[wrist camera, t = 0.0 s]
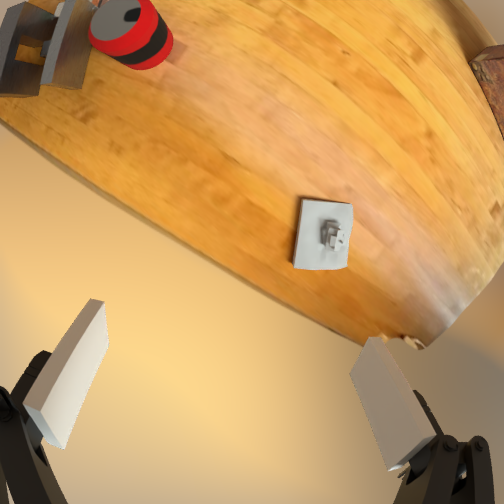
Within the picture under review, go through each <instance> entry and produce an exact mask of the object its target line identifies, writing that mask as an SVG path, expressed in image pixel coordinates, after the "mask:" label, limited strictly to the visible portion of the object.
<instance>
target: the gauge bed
mask: <svg viewBox="0 0 504 504" xmlns="http://www.w3.org/2000/svg"><path fill="white" fill-rule="evenodd" d="M89 1H90V2H91V3H92V0H89ZM107 1H109V0H100V1H99V3H98V6H97V7H98V8H100V7H101V6H102V5H103V4H104V3H106V2H107ZM64 3H65V2H62V3H59V4H58V6H57V9H56V11H55V14H54V15H53V14H51V13H49V12H47V11H45V10H43V9H41V8H39V7H37V6H35V5H32V4H30V3H28V2H26V1H25V2H22V3H20V4H17V5H15V6H12V7H10V8H8V9H7V12H6V15H5V17H4V19H3V22H2V25H1V28H0V97H12V98H25V97H33V96H38V95H39V90H40V82H41V78H42V73H43V69H44V66H40V65H36V64H32V63H27V62H22V61H18V60H15V56H16V52H17V49H18V45H19V44H22V45H26V46H29V47H33V48H35V47H40V46H43V44H44V41H49V40H51V39H52V36H53V33H54V30H55V27H56V24H57V21H58V19H59V16H60V13H61V11H62V8H63V5H64Z"/></svg>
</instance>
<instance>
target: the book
mask: <svg viewBox="0 0 504 504" xmlns="http://www.w3.org/2000/svg"><path fill="white" fill-rule="evenodd" d="M468 64H469V66H470V68H471V69H472V71H473V73H474V75H475V77H476V79H477V80H478V82H479V84H480V86H481V88H482V90H483V92H484V94H485V96H486V99H487V101H488V103H489V105H490V107H491V109H492V112H493V114H494V116H495V119H496V121H497V124H498V126H499V129H500V131H501V134H502V137H503V139H504V45H497V46H491V47H487V48H485V49H484V50H483V51H482V52H481V53H480V54H478V55H477V56H476V57H475V58H474V59H473V60H471V61H470V62H469V63H468Z"/></svg>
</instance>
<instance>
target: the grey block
mask: <svg viewBox="0 0 504 504" xmlns="http://www.w3.org/2000/svg"><path fill="white" fill-rule="evenodd" d="M99 1H100V0H92V3H91V2H90V1H89V0H65V3H64V5H63V8H62V11H61V13H60V16H59V19H58V21H57V24H56V27H55V30H54V33H53V36H52V39H51V40H49V41H44V44H43V47H42V50H41V54H40V56H41V57H45V58H46V61H45V65H44V69H43V73H42V78H41V82H40V85H47V86H53V87H59V88H65V89H70V90H74V89H82V84H83V79H84V75H85V70H86V66H87V62H88V58H89V54H90V51H91V47H92V44H91V43H90V40H89V35H88V31H89V26H90V23H91V21H92V18H93V16H94V14H95V13H96V11H97V10H98V9H99V8H98V7H97V6H98V3H99Z"/></svg>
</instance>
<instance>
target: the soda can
mask: <svg viewBox="0 0 504 504" xmlns="http://www.w3.org/2000/svg"><path fill="white" fill-rule="evenodd" d="M88 35H89V40H90V43H91V44H92V46H93V47H95V48H96V49H97V50H99V51H101V52H103V53H105V54H107V55H108V56H110V57H112V58H114V59H116V60H117V61H119V62H121V63H123V64H124V65H126V66H128V67H130V68H132V69H135V70H146V69H150V68H153V67H155V66H157V65H158V64H160V63H161V62H163V61H164V60H165V59H166V57H167V56H168V55H169V53H170V51H171V49H172V46H173V35H172V33H171V31H170V29H169V28H168V26H167V25H166V23H165V22H164V20H163V19H162V17H161V16H160V14H159V13H158V12H157V10H156V9H155V7H154V6H153V4H152V3H151V1H150V0H109V1H107V2H106V3H104V4H103V5H102V6H101V7H100V8H99V9H98V10H97V11H96V13H95V14H94V16H93V18H92V21H91V23H90V26H89V31H88Z"/></svg>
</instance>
